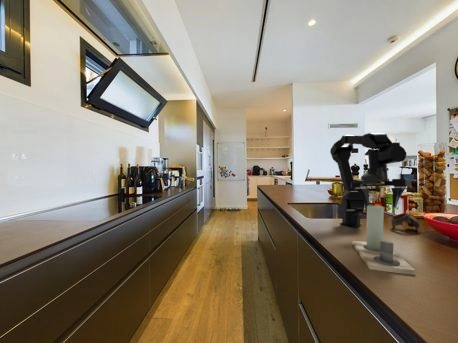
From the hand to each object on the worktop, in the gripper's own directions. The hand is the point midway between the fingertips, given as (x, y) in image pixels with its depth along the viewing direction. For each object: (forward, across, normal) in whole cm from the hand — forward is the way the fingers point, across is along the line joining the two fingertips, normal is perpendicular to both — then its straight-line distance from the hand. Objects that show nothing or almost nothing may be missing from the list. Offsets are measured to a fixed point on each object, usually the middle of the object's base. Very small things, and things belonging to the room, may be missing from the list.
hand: (380, 206), depth 86 cm
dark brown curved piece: (+11, 0, +23) cm, 26 cm away
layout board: (+14, +7, -19) cm, 25 cm away
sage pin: (+12, +4, -16) cm, 21 cm away
